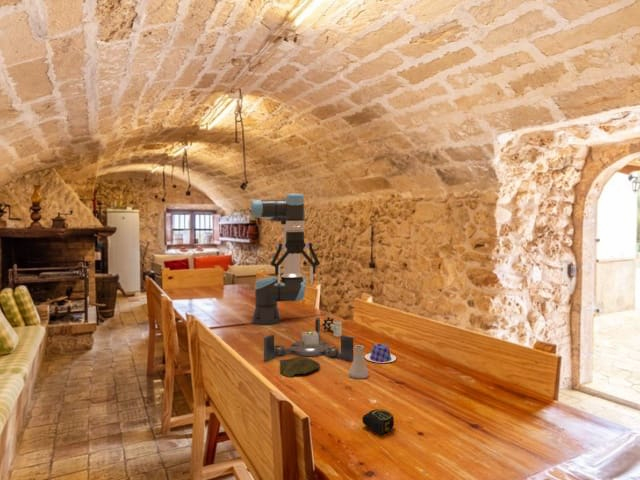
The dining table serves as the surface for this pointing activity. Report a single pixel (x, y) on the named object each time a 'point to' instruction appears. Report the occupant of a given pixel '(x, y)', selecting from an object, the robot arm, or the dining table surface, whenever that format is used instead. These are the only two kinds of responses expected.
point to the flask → (358, 364)
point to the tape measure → (379, 420)
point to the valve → (333, 327)
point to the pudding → (380, 354)
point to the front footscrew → (272, 349)
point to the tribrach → (321, 345)
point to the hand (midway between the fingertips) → (295, 282)
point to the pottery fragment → (297, 366)
